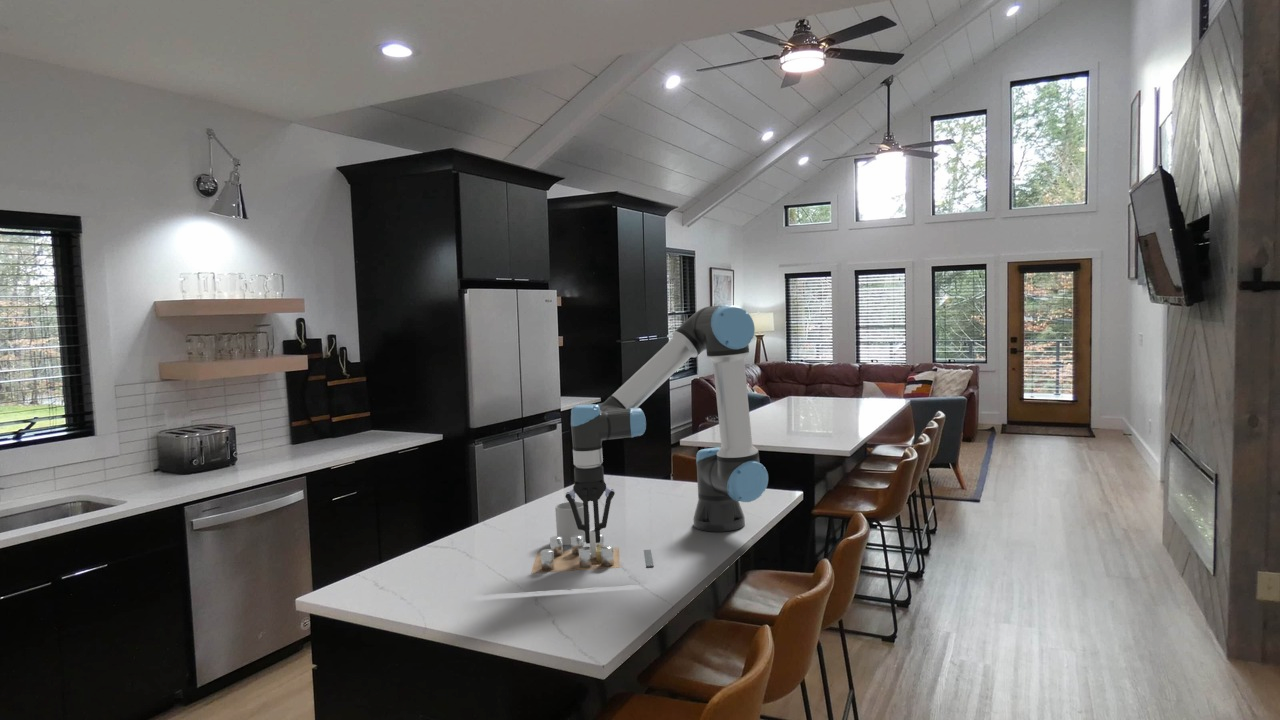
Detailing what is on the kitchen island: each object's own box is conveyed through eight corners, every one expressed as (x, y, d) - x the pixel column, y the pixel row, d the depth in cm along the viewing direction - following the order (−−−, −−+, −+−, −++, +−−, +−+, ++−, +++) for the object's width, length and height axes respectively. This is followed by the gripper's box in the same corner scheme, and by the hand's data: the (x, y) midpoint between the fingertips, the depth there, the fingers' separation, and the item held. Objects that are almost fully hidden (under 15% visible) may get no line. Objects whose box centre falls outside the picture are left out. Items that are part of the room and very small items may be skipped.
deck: (619, 551, 203) (618, 547, 203) (619, 571, 187) (619, 567, 187) (537, 556, 202) (537, 552, 202) (531, 577, 186) (531, 573, 186)
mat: (650, 550, 202) (650, 549, 202) (653, 567, 189) (653, 565, 189) (621, 552, 202) (620, 551, 202) (621, 569, 189) (621, 567, 189)
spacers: (613, 549, 202) (612, 532, 202) (614, 566, 188) (613, 548, 188) (545, 553, 202) (544, 536, 201) (541, 571, 187) (540, 553, 187)
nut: (613, 555, 197) (613, 545, 197) (613, 560, 193) (613, 550, 192) (596, 556, 197) (596, 546, 197) (596, 561, 192) (595, 551, 192)
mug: (574, 550, 206) (572, 510, 206) (551, 546, 211) (548, 507, 211) (601, 538, 216) (599, 500, 216) (578, 534, 221) (575, 497, 220)
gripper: (613, 460, 197) (618, 549, 199) (563, 463, 197) (569, 552, 198) (613, 466, 190) (619, 558, 191) (562, 469, 189) (567, 561, 191)
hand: (593, 555), depth 195 cm, fingers closed
